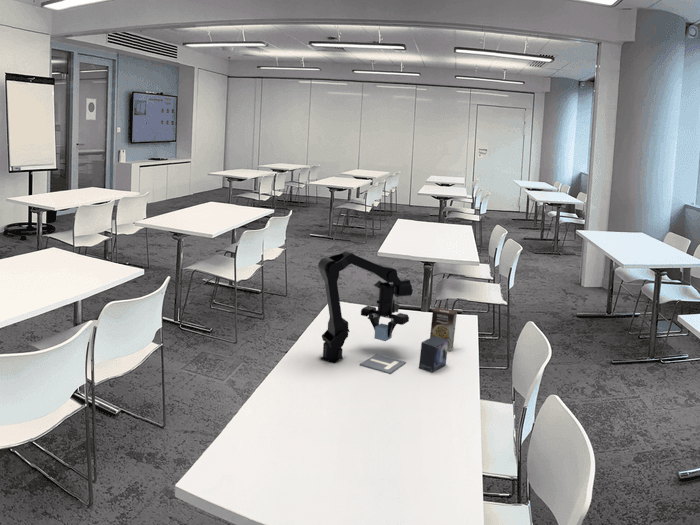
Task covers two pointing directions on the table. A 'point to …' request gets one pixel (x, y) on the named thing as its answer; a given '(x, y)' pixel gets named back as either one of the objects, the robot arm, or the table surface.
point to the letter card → (383, 363)
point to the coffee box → (444, 325)
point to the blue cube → (382, 332)
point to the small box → (433, 353)
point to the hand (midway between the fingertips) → (383, 335)
